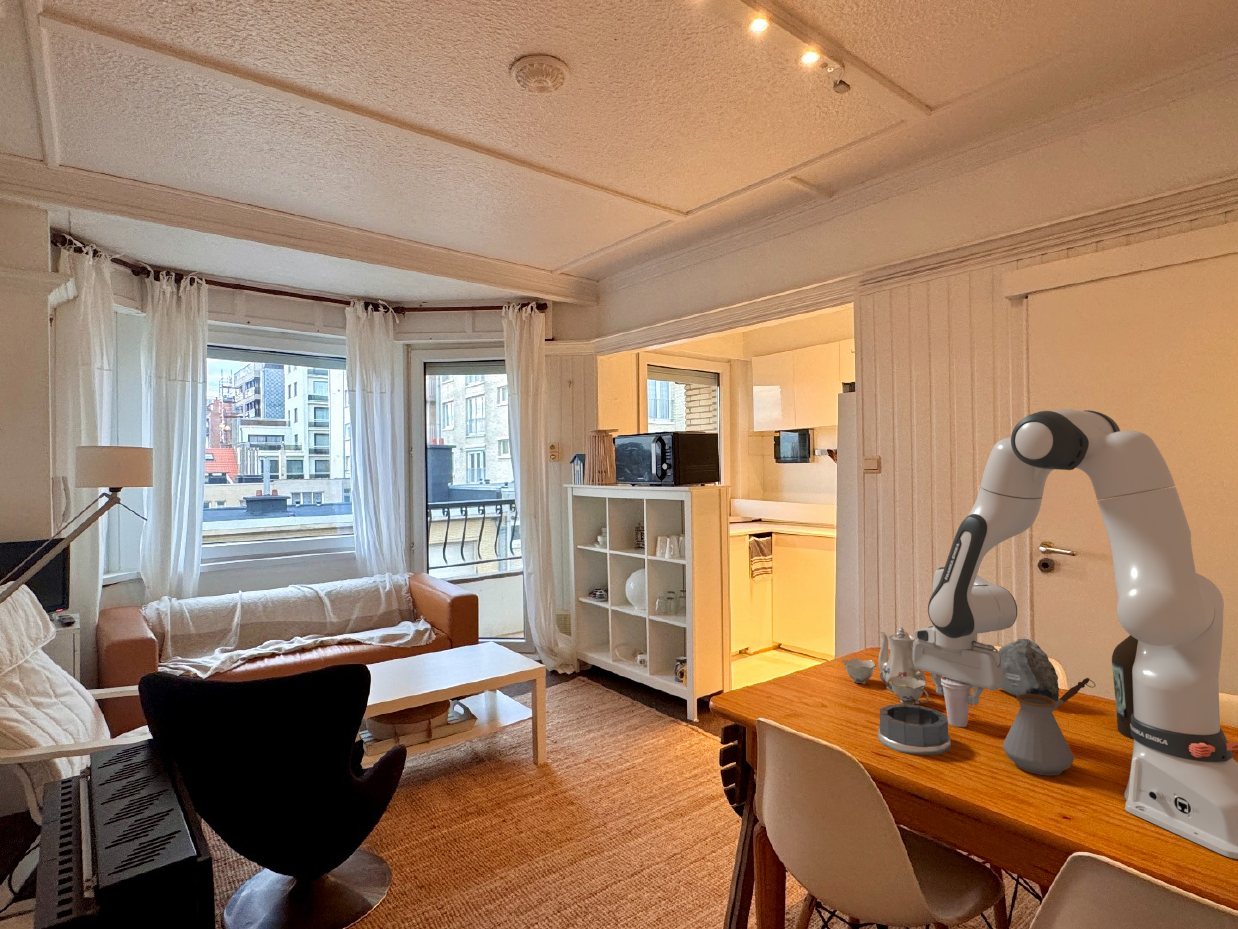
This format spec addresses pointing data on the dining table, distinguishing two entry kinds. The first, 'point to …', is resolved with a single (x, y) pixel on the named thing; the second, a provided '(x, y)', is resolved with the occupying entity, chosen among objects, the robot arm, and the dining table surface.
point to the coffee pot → (1040, 735)
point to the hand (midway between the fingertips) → (957, 698)
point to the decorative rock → (1028, 670)
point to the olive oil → (1124, 682)
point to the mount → (914, 730)
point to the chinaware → (893, 668)
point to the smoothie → (956, 701)
